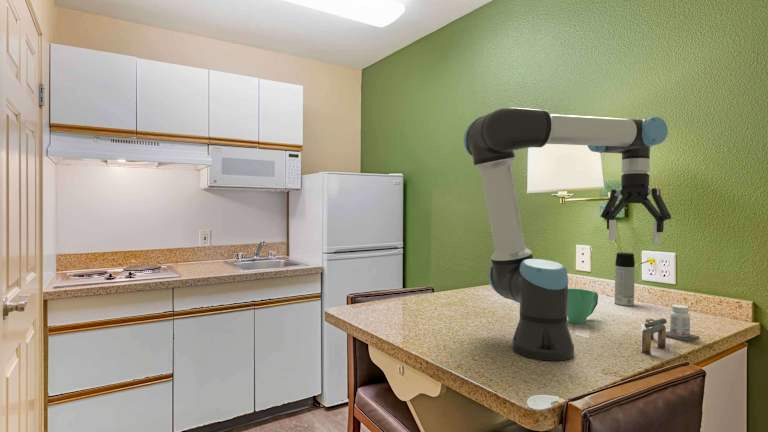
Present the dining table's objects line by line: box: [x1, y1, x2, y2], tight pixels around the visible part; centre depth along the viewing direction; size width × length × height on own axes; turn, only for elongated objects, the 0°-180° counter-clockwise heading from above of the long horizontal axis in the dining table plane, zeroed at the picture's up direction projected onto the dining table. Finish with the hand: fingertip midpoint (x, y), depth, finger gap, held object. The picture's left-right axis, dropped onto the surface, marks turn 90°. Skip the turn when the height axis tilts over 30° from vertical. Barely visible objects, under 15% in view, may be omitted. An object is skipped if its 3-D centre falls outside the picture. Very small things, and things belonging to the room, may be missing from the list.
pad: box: [666, 330, 700, 343], centre depth 126 cm, size 7×7×1 cm
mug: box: [567, 288, 599, 324], centre depth 144 cm, size 15×10×10 cm
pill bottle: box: [669, 304, 691, 337], centre depth 126 cm, size 5×5×8 cm
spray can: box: [614, 252, 636, 307], centre depth 169 cm, size 7×7×20 cm
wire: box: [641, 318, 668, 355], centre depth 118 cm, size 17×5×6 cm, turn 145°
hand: (633, 241), depth 135 cm, fingers open, 13 cm apart
